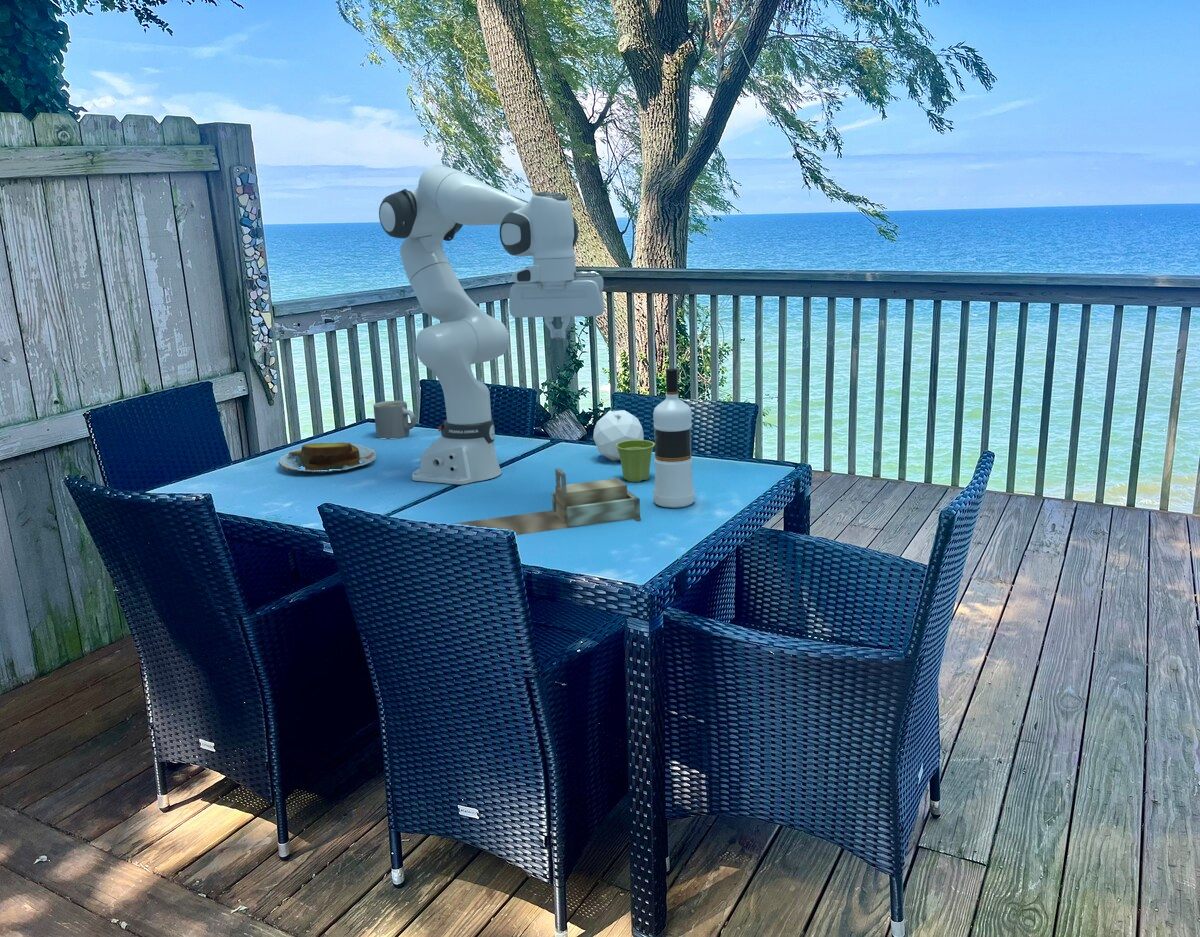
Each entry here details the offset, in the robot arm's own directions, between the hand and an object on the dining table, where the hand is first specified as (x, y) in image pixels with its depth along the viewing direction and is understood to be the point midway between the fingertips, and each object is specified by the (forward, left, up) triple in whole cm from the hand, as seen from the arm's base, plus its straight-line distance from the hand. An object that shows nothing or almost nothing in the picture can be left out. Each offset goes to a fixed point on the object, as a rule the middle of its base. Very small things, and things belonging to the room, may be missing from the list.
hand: (558, 338), depth 199 cm
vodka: (+24, +3, -37) cm, 44 cm away
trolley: (+8, -10, -36) cm, 39 cm away
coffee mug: (-70, +64, -37) cm, 102 cm away
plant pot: (+12, +22, -37) cm, 45 cm away
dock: (-1, -14, -37) cm, 40 cm away
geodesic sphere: (+4, +41, -37) cm, 56 cm away
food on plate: (-74, +30, -38) cm, 89 cm away
